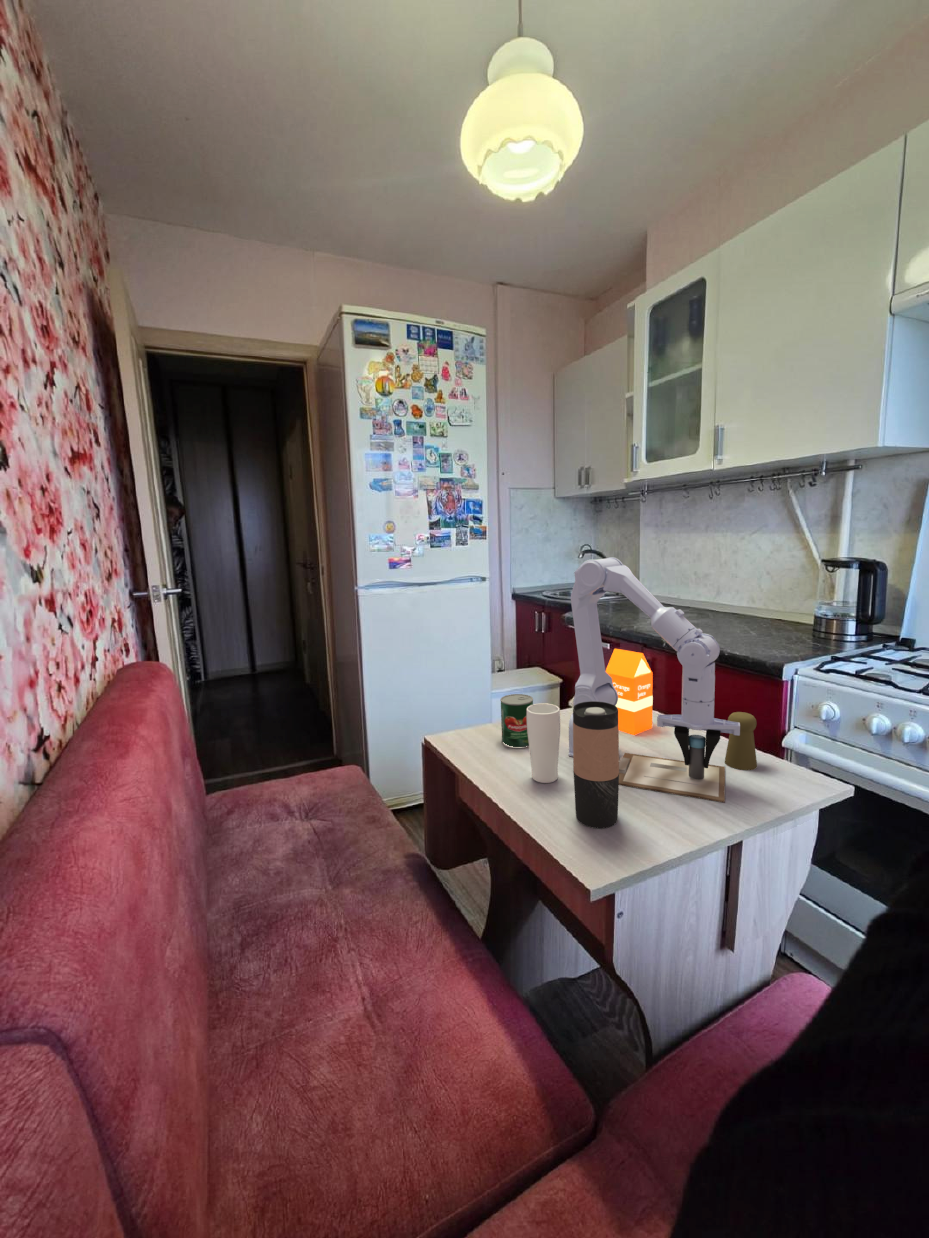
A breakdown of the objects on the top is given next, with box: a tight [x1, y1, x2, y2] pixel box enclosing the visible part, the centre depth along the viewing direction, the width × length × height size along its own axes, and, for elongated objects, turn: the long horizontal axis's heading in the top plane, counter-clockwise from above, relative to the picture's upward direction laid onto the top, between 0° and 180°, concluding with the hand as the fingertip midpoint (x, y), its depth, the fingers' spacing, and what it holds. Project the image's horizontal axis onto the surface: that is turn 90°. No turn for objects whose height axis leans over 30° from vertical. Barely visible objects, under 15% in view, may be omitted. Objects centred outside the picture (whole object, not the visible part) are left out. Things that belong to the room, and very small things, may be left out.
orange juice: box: [605, 648, 654, 736], centre depth 129 cm, size 8×9×20 cm
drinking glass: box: [526, 702, 561, 784], centre depth 104 cm, size 7×7×15 cm
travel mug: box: [572, 701, 620, 830], centre depth 88 cm, size 8×8×20 cm
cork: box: [724, 711, 758, 771], centre depth 106 cm, size 6×6×11 cm
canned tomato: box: [500, 693, 534, 748], centre depth 123 cm, size 8×8×11 cm
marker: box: [689, 734, 706, 779], centre depth 100 cm, size 3×3×8 cm
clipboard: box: [619, 752, 726, 803], centre depth 103 cm, size 20×15×1 cm
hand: (696, 764), depth 100 cm, fingers closed on marker, 3 cm apart
